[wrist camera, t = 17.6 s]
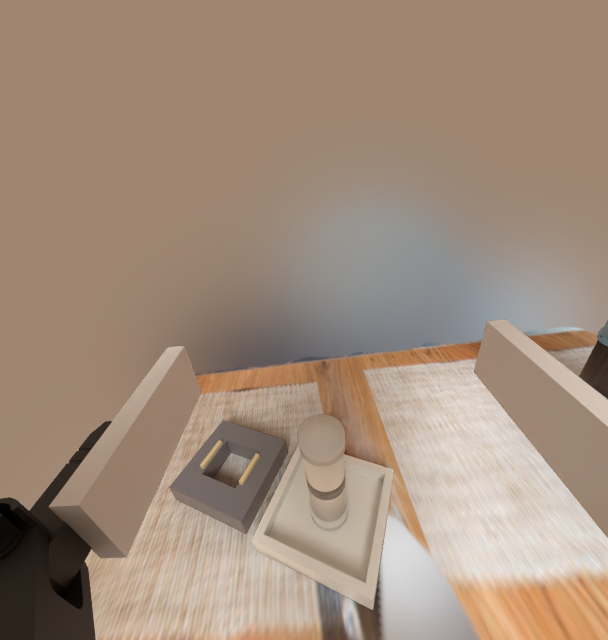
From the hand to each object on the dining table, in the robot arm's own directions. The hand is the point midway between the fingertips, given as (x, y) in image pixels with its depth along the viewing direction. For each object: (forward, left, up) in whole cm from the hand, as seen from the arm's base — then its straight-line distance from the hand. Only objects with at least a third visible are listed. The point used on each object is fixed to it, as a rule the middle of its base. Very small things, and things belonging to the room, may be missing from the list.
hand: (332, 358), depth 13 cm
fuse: (-8, -5, -31) cm, 33 cm away
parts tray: (-8, -5, -32) cm, 33 cm away
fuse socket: (-8, -20, -32) cm, 38 cm away
